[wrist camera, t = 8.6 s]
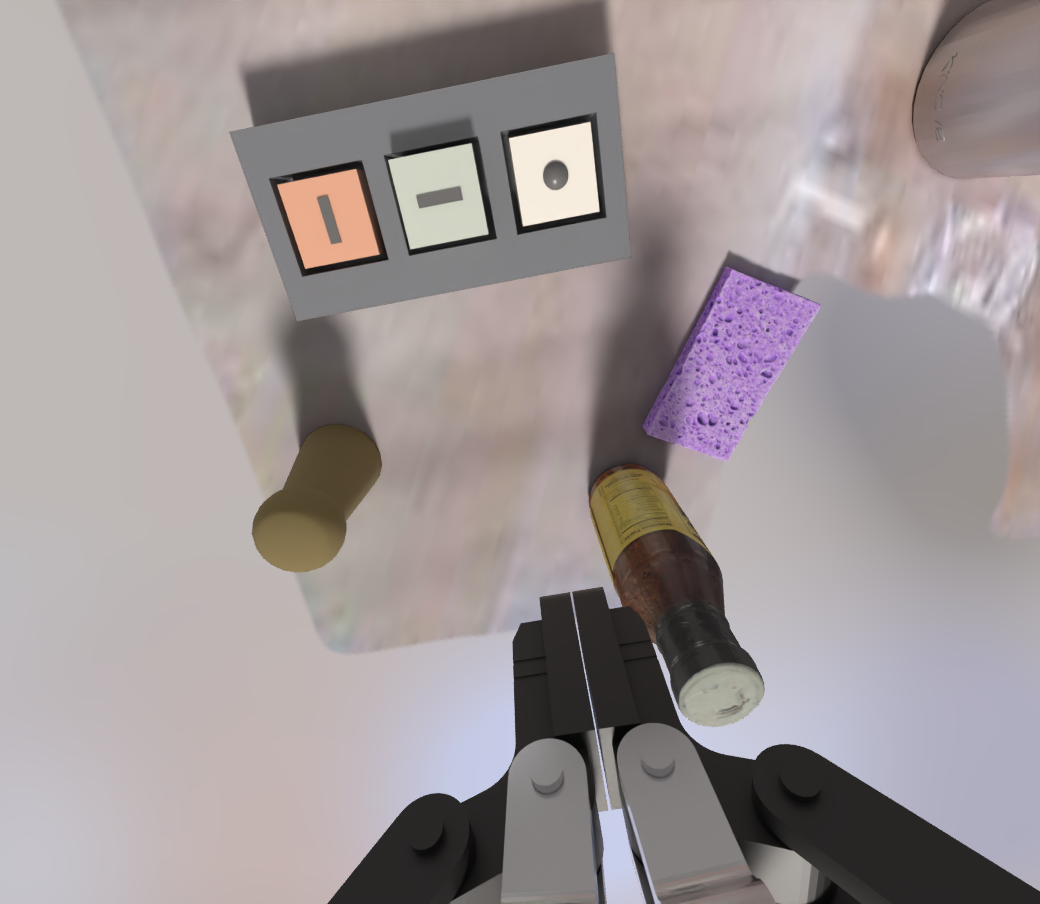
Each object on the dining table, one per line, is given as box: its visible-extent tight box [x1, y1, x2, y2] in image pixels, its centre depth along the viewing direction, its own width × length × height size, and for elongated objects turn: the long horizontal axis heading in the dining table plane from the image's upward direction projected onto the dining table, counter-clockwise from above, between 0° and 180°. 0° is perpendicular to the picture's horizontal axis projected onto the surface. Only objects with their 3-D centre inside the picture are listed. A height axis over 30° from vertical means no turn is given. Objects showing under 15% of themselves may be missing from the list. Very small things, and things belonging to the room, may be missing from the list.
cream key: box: [508, 122, 600, 226], centre depth 30 cm, size 4×4×2 cm
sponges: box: [642, 267, 821, 461], centre depth 38 cm, size 7×13×2 cm, turn 159°
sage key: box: [388, 143, 489, 249], centre depth 29 cm, size 4×4×2 cm
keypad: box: [229, 53, 631, 321], centre depth 31 cm, size 20×10×4 cm, turn 100°
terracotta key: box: [277, 169, 386, 269], centre depth 30 cm, size 4×4×2 cm
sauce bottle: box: [589, 464, 764, 727], centre depth 33 cm, size 6×6×20 cm
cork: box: [252, 424, 382, 572], centre depth 35 cm, size 6×6×11 cm
